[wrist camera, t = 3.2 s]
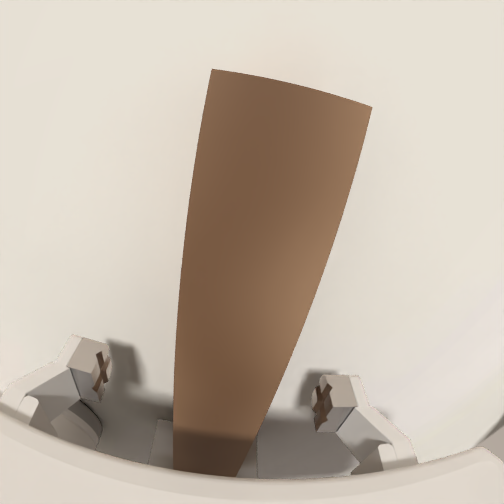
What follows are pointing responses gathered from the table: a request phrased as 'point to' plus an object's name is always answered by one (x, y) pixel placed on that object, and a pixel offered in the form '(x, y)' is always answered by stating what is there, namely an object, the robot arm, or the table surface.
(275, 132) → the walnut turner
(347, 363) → the table surface
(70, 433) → the travel mug
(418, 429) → the table surface
